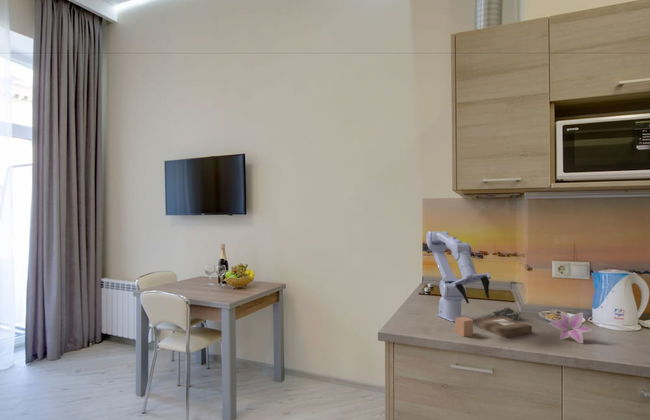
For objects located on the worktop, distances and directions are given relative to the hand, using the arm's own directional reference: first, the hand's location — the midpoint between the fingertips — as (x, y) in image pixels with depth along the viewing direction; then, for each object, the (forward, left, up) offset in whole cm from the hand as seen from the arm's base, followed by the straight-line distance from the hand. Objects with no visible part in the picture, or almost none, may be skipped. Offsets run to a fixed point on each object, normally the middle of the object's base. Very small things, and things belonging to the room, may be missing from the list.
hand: (477, 299), depth 136 cm
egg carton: (-12, +30, -14) cm, 36 cm away
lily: (+15, +31, -14) cm, 37 cm away
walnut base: (-1, +16, -14) cm, 21 cm away
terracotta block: (-3, -4, -14) cm, 15 cm away
